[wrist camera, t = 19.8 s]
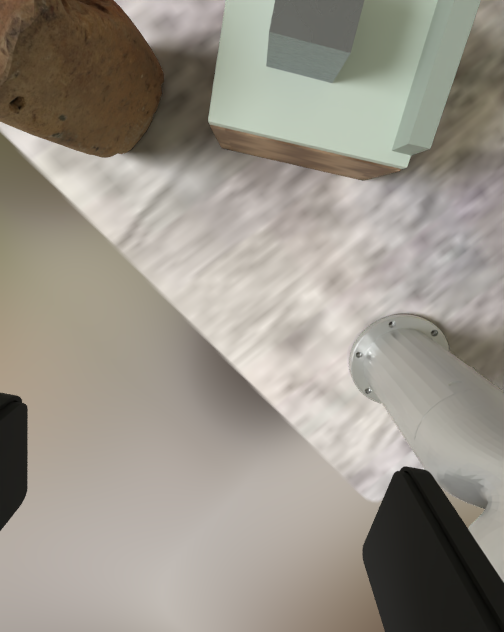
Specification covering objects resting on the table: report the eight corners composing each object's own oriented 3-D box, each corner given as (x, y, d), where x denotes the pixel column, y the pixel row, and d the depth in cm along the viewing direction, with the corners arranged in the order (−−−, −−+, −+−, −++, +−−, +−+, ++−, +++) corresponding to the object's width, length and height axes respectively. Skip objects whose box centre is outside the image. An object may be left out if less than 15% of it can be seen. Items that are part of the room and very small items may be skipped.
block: (118, 170, 37) (-27, 130, 18) (62, 116, 35) (-161, 8, 16) (183, 91, 35) (96, -51, 16) (127, 29, 33) (-46, -216, 14)
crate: (406, 31, 33) (468, -42, 23) (362, 180, 37) (400, 170, 28) (247, -10, 32) (244, -103, 22) (221, 148, 36) (210, 126, 27)
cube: (352, 1, 23) (378, -53, 18) (332, 83, 25) (350, 53, 20) (282, -19, 23) (290, -78, 18) (266, 66, 24) (269, 31, 20)
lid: (469, -43, 23) (512, -93, 19) (401, 169, 27) (425, 162, 23) (243, -105, 22) (241, -170, 18) (209, 124, 26) (201, 110, 23)
